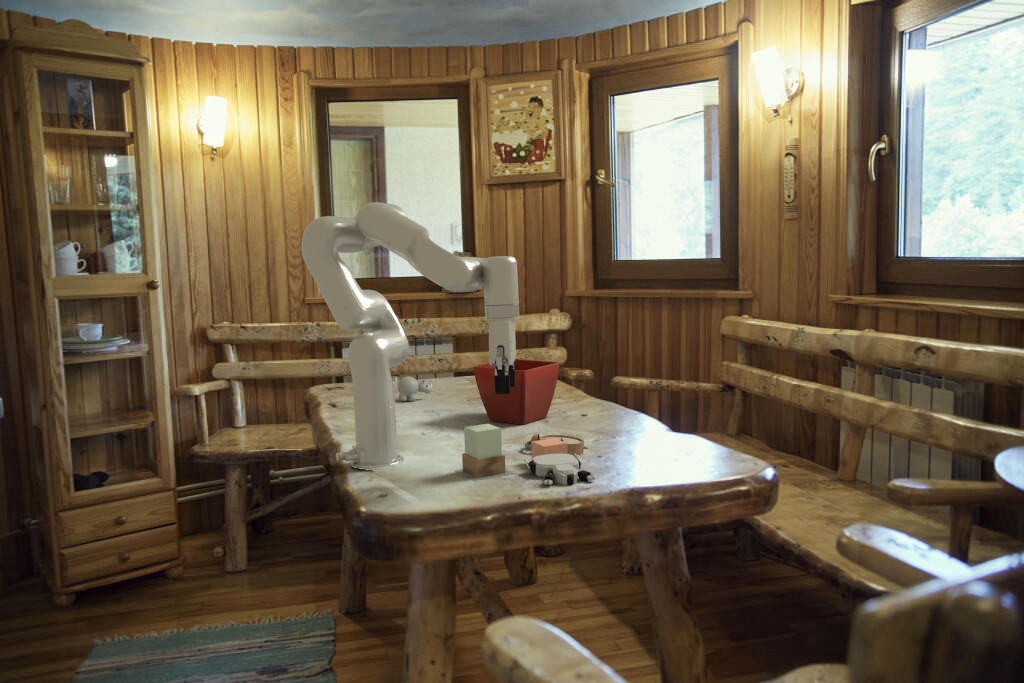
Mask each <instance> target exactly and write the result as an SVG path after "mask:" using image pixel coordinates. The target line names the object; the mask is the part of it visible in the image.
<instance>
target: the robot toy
mask: <svg viewBox="0 0 1024 683" xmlns="http://www.w3.org/2000/svg"><path fill="white" fill-rule="evenodd" d="M574 455H575V456H573V455H571V454H546V455H540V456H536V457H534V458H532V457H531V460H530V461H529V462H527V460H526V457H524V458H523V461H524V463H525V464H526V467H527V470H529V471H530V472H531V473H532V474H534V475H535V476H537V477H540V478H544V480H543V484H544V485H546V486H552V485H553V484H554V483H555V484H560V485H562V486H567V485H568V486H572V485H576V484H577V482H578V481H579V480H581V481H583V482H589V481H590V482H591V481H595V480H596V476H595V475H594V474H593V475H592V473H591V471H590V472H589V471H587V470H584V469H582V470H580V469H581V466H582V465H583V464H582V461H581V460H580V458H579V457H578V456H577V455H576V453H575V454H574Z"/></svg>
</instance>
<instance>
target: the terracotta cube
mask: <svg viewBox="0 0 1024 683" xmlns="http://www.w3.org/2000/svg"><path fill="white" fill-rule="evenodd" d="M530 441H531V440H530ZM531 447H532V450H531V459H532V458H534V457H536V456H540V455H546V454H568V450H567V443H566V442H563V441H560V440H557V439H555V438H552V439H545V440H538V441H531Z"/></svg>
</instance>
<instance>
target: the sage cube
mask: <svg viewBox="0 0 1024 683" xmlns="http://www.w3.org/2000/svg"><path fill="white" fill-rule="evenodd" d="M463 431H464V453H465V454H467V455H469V456H472V457H474V458H476V459H481V458H487V457H493V456H500V455H502V454H503V453H502V452H503V450H502V449H503V448H502V447H503V446H502V428H501V427H499V426H495V425H493V424H490V423H485V424H482V423H481V424H477V425H467V426H464V427H463Z"/></svg>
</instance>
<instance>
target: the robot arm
mask: <svg viewBox="0 0 1024 683" xmlns="http://www.w3.org/2000/svg"><path fill="white" fill-rule="evenodd" d="M300 246H301V253H302V254H301V255H302V258H303V261H304V264H305V266H306V268H307V269H308V272H309V273H310V275H311V276H312V278H313V280H314V281H315V283H316V285H317V286H318V288H319V291H320V293H321V295H322V297H323V299H324V301H325V303H326V305H327V307H328V309H329V311H330V313H331V315H332V317H333V319H334V321H335V323H336V324H337V325H338V327H339V328H341V329H342V330H344V331H348V332H358V331H363V333H360V334H359V335H357V336H356V337H354V338H353V340H352V341H351V342H350V344H349V346H348V350H347V360H348V364H349V369H350V374H351V379H352V380H351V381H352V388H353V390H352V391H353V408H354V424H355V425H354V426H355V427H354V429H355V445H352V447H351V448H352V449H348V451H340V452H336V453H335V459H336V461H337V462H339V461H345V462H350V463H349V466H350V465H351V466H353V467H356V468H363V469H371V468H382V467H390V466H393V465H397V464H400V463H401V462H404V461H405V458H404V457H403V455H400V454H398V444H397V423H396V422H397V420H396V417H397V415H396V398H395V396H396V395H395V394H396V392H395V385H394V380H393V377H392V375H391V374H392V373H391V372H390V369H392V368H396V367H398V366H401V365H402V364H403V363H404V362H405V361H406V360H407V359H408V356H409V354H410V345H409V344H410V343H409V340H408V337H407V336H406V333H405V331H404V329H403V327H402V325H401V322H399V319H398V318H397V315H396V314H395V312H394V310H393V308H392V307H391V304H390V303H389V301H388V300H387V298H386V297H385V296H383V294H382V293H380V292H379V291H377V290H373V289H362V288H361V287H360V285H359V284H358V282H357V281H356V279H355V276H354V274H353V272H352V270H351V269H350V267H349V266H348V265H347V264H346V263H345V261H343V260H342V258H341V257H340V255H339V254H340V253H341V254H342V253H344V254H345V253H346V254H347V253H348V254H349V253H351V254H353V253H360V252H363V251H366V250H369V249H373V248H376V247H378V246H379V247H380V246H381V247H383V248H385V249H386V250H388V251H390V252H392V253H393V254H395V255H396V256H398V257H400V258H402V259H404V260H405V261H406V262H408V264H409V265H410V266H411V267H412V268H414V270H416V272H418V274H420V275H421V276H423V277H424V278H426V279H428V280H430V281H431V282H433V283H435V284H436V285H438V286H440V287H442V288H443V289H446V290H448V291H450V292H455V293H463V292H474V291H480V290H483V297H484V300H483V301H484V317H485V318H484V319H485V321H487V322H488V321H489V323H488V325H489V326H488V361H489V362H488V363H489V364H490V365H491V366H493V365H494V364H495V393H496V394H509V393H510V387H515V385H516V381H515V369H514V361H515V359H517V358H516V356H517V355H516V354H517V352H516V351H517V343H516V342H517V340H516V323H515V320H520V299H519V276H518V261H517V259H516V258H515V257H514V256H510V255H508V256H507V255H506V256H505V255H502V256H501V255H498V256H497V255H496V256H489V257H477V256H476V257H475V256H459V255H456V254H454V253H452V252H450V251H448V250H446V249H445V248H443V247H441V246H440V245H438V244H436V243H435V241H433V240H432V239H431V238H430V233H429V231H428V229H427V228H426V227H425V226H424V225H421V224H419V223H417V222H416V221H414V220H412V219H410V218H409V217H408V215H407V213H406V211H404V209H403V208H402V207H400V206H398V205H396V204H394V203H386V202H377V201H372V202H368V203H366V204H364V205H363V206H362V207H361V208H359V210H358V211H357V213H356V216H353V217H347V216H346V217H345V216H336V215H326V216H320V217H317V218H315V219H313V220H311V221H310V222H309V223H308V225H306V228H305V230H304V232H303V234H302V238H301V245H300ZM351 466H350V467H351Z"/></svg>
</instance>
